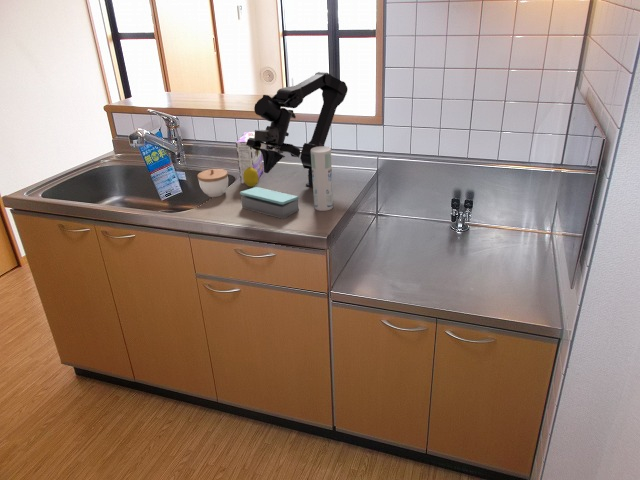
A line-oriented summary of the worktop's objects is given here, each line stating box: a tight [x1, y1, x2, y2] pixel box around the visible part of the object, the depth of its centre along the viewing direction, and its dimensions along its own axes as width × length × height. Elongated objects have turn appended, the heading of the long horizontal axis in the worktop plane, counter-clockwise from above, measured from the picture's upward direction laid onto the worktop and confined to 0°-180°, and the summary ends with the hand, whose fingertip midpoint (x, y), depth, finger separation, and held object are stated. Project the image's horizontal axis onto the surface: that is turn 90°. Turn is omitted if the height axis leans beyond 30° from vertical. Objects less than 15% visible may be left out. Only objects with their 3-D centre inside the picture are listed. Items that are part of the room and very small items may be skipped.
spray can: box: [311, 145, 334, 212], centre depth 167 cm, size 6×6×20 cm
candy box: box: [235, 131, 264, 184], centre depth 198 cm, size 14×6×16 cm, turn 172°
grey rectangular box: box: [240, 195, 299, 220], centre depth 172 cm, size 8×18×4 cm, turn 55°
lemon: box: [243, 167, 259, 189], centre depth 190 cm, size 6×6×8 cm
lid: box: [239, 186, 299, 205], centre depth 171 cm, size 8×18×1 cm, turn 55°
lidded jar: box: [197, 168, 229, 198], centre depth 186 cm, size 11×11×9 cm
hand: (265, 172), depth 167 cm, fingers closed
